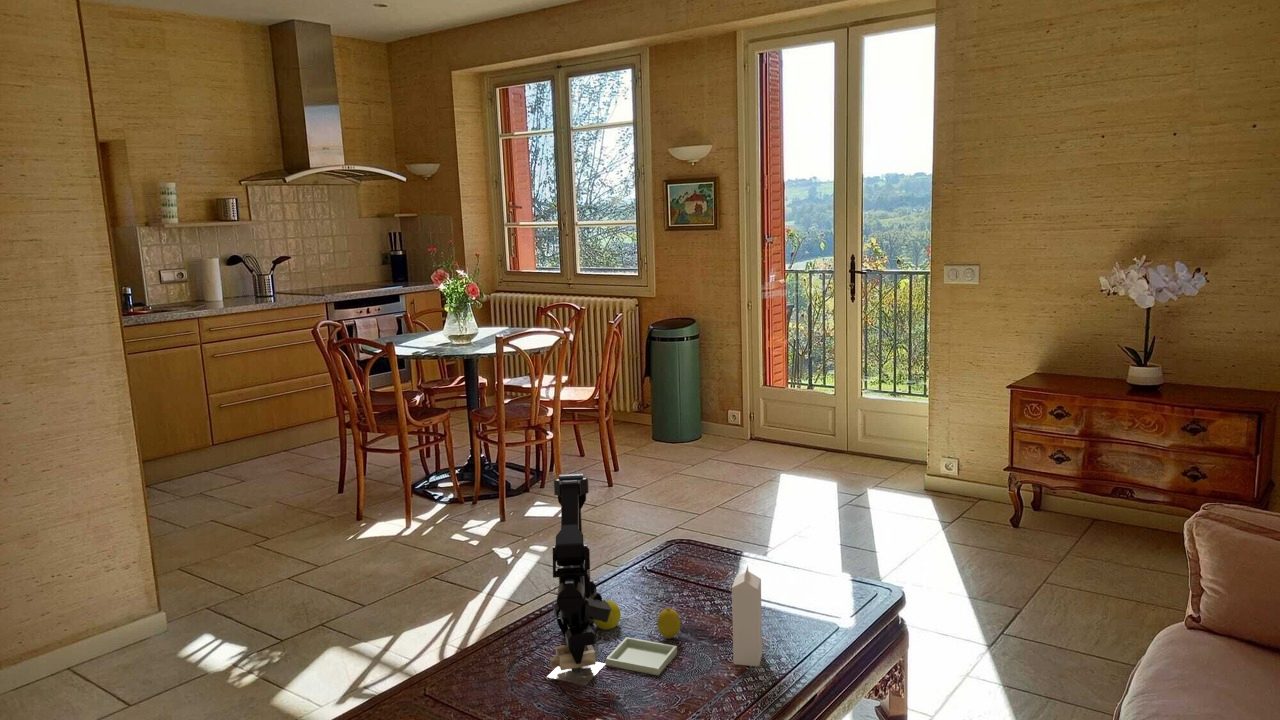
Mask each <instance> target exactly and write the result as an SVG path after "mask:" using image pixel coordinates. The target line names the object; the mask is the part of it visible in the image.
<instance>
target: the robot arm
mask: <svg viewBox="0 0 1280 720" xmlns="http://www.w3.org/2000/svg"><path fill="white" fill-rule="evenodd" d="M589 486H590V485H589V477H586V476H584V473H568V474H566V473H565V474H559V475H558V478H557V479H556V478H555V479H553V489H554V490H553V491H554V496H557V502H558V503H559V505H560V507H561V513H560V514H561V517H560V523H561V525H560V530H559V531H558V533H557V534H556V536H555V545H552V578H553V579H556V578H558V586H557V596H556V602H555V603H554V605H553V615H554V618H555V619H556V618H557V619H556V623H557V624H558V627H559V630H560V631H561V634H562V636H563V639H564V642H565V645H567V646H568V648H569V650H570V652H571V654H572V656H573V658H574V660H575V662H576V664H580V663H581V661H582V657H583V653H584V649H585V646H587V645H592V646H594V645H595V644H596V643H597V637H596V633H595V631H594V629H593V627H591V626H590V625H591V624H592V623H594V620H600V621H602V622H608V618H609V615H610V612H611V607H610V605H609V604H608V603H607V602H606V601H605V599H603V597H602V594H601V593H600V592H597V585H596V584H595V581H594V579H591V555H590V554H591V553H590V552H591V551H590V550H591V549H590V548H589V546H588V544H587V543H585V542H584V540H585V539H584V534H583V525H582V524H583V523H582V522H583V521H582V508H583V506H584V504H585V503H586V501H587V494H589V492H590V489H589ZM557 566H558V567H559V568H557ZM560 567H561V568H560ZM593 619H594V620H593Z"/></svg>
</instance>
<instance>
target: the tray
mask: <svg viewBox="0 0 1280 720" xmlns="http://www.w3.org/2000/svg"><path fill="white" fill-rule="evenodd" d="M677 654H678V646H677V645H673V644H667V643H662V642H657V641H650V640H645V639H638V638H633V637H629V636H626V637H625V638H624V639H623V640H622V641H621V642H620V643H619V644H618V645H617V646H616V647H615V648H614V650H613V651H612V652H611V653H610V654H609V655H608V656H607V657H606V658H605V665H606V666H608V667H612V668H617V669H623V670H629V671H633V672H638V673H643V674H648V675H653V676H660V674H661V673H662V672H663V671H664V670H665V668H666V667H667V666H668V665H669V664H671V663H672V661H673V659H675V657H676V656H677Z"/></svg>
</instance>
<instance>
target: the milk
mask: <svg viewBox="0 0 1280 720" xmlns="http://www.w3.org/2000/svg"><path fill="white" fill-rule="evenodd" d="M731 609H732V617H731V618H732V650H733V651H732V652H733V653H732V654H733V655H732V656H733V657H732V658H733V659H732V661H733V665H739V666H750V667H760V665H761V661H762V655H763V634H762V633H763V629H762V628H763V627H762V624H763V621H762V620H763V619H762V579H761V577H759V576H757V575H756V574H754V573H752V572H751V571H749V565H747V567H746V569H745V572H743V573H741V574H739V575H736V576H735V577H734V581H733V583H732V586H731Z"/></svg>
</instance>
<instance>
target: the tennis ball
mask: <svg viewBox="0 0 1280 720" xmlns="http://www.w3.org/2000/svg"><path fill="white" fill-rule="evenodd" d="M604 600H605V599H604ZM605 601H606V602H607V603H608V604H609V605H610V607H611V612H610V615H609V618H608V622H602V621H600V620H594V619H593V620H594V621H593V623H594V624H595V626H596V627H598V628H599V629H601V630H612V629H614V628H615V627H616V626H618V624H619V622H620V620H621V615H622V614H621V609H620V607H619V605H618V604H617V603H616V602H614V601H613V600H608V599H607V600H605Z"/></svg>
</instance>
